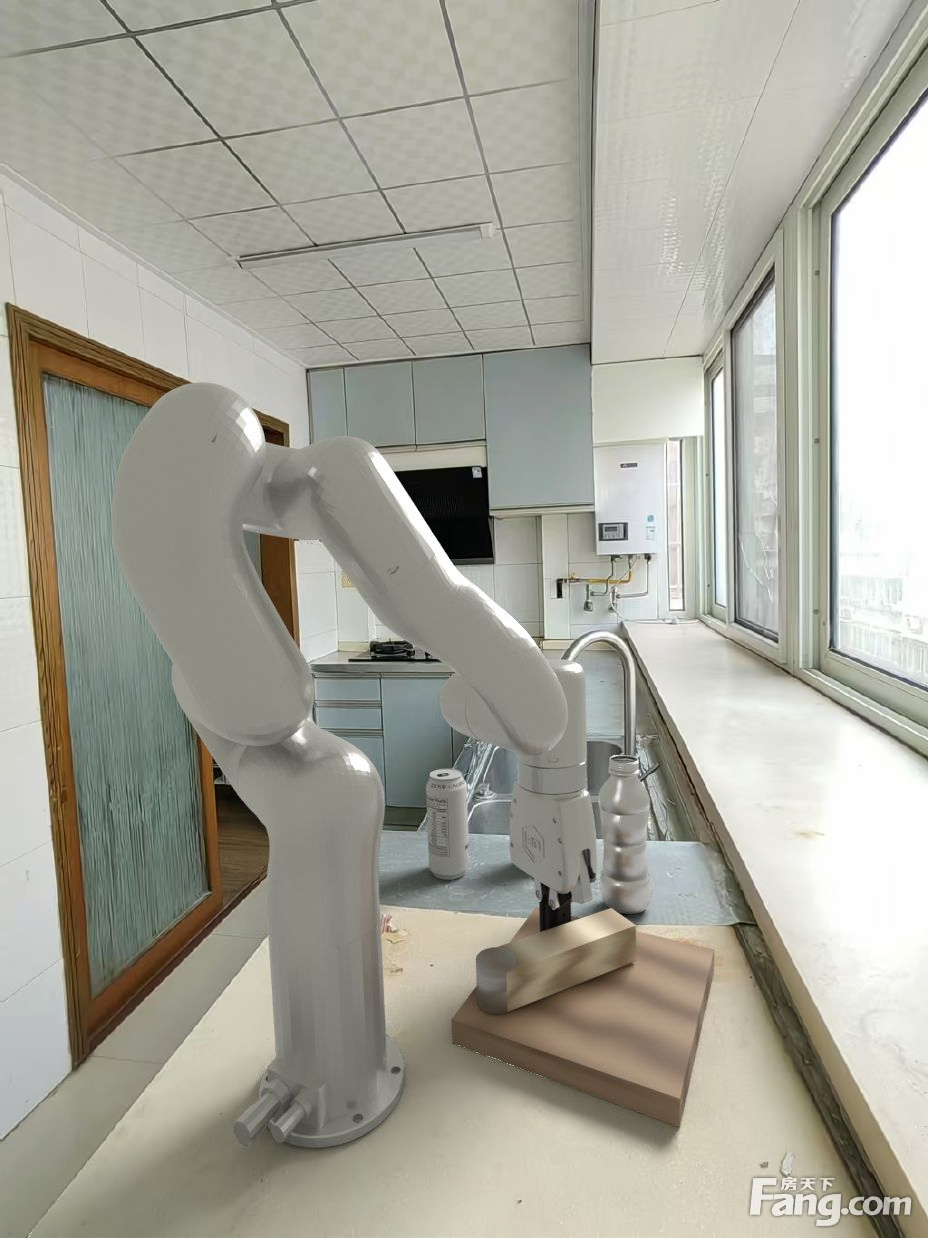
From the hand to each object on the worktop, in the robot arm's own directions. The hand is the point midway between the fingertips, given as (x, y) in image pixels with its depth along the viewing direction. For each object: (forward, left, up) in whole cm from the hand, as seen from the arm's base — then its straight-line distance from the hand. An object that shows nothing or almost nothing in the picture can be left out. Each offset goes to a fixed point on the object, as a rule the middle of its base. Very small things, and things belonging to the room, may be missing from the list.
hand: (555, 934), depth 72 cm
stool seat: (-3, -5, -5) cm, 8 cm away
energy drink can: (+16, +22, -5) cm, 28 cm away
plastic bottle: (+17, -4, -5) cm, 18 cm away
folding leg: (-5, -2, -2) cm, 5 cm away
